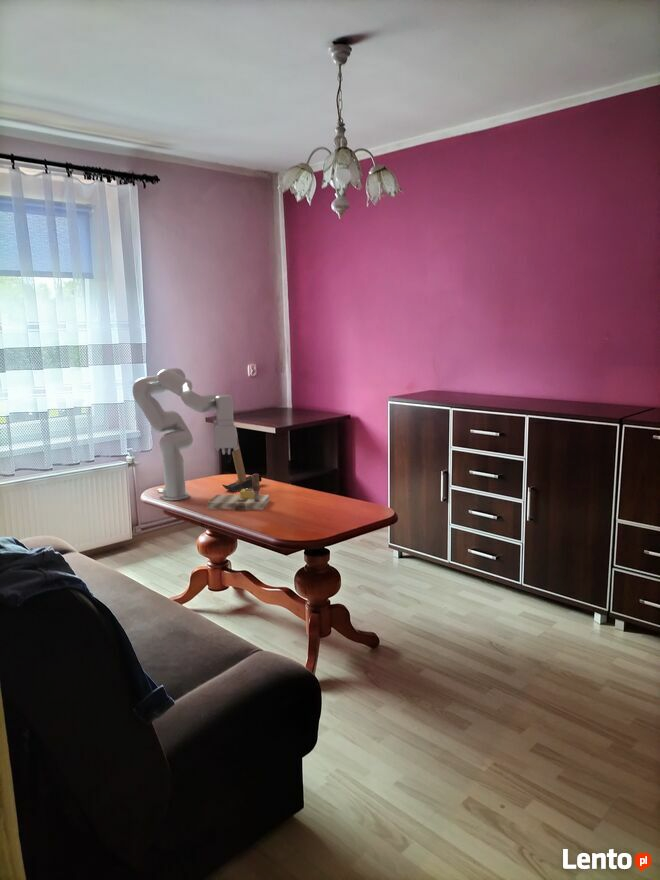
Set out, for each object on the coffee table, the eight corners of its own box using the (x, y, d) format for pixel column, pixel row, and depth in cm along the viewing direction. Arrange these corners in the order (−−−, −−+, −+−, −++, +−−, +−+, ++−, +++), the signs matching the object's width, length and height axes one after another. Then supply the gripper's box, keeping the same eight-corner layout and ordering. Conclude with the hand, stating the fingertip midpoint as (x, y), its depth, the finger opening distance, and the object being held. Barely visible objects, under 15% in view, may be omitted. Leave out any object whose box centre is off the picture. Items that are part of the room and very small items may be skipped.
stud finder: (240, 498, 292) (240, 491, 291) (243, 495, 297) (242, 488, 296) (253, 498, 291) (252, 491, 290) (255, 495, 296) (255, 488, 295)
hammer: (229, 497, 314) (216, 439, 306) (224, 495, 318) (210, 438, 309) (262, 482, 327) (250, 426, 318) (256, 480, 330) (244, 425, 322)
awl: (252, 501, 285) (251, 475, 283) (254, 499, 288) (252, 473, 286) (259, 501, 285) (257, 475, 283) (260, 499, 288) (259, 473, 286)
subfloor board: (206, 510, 285) (206, 503, 284) (218, 499, 301) (217, 493, 301) (261, 510, 281) (261, 504, 281) (270, 500, 298) (270, 494, 298)
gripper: (206, 424, 286) (209, 464, 289) (239, 423, 284) (241, 464, 288) (211, 421, 293) (213, 461, 297) (243, 421, 292) (245, 460, 295)
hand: (227, 462), depth 292 cm, fingers closed
